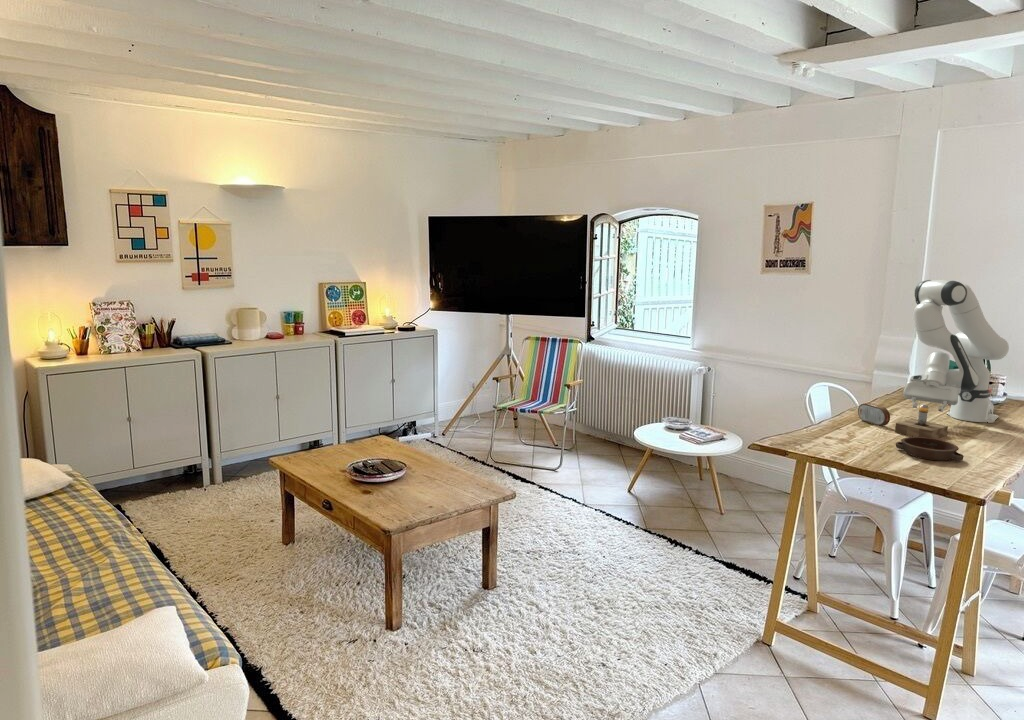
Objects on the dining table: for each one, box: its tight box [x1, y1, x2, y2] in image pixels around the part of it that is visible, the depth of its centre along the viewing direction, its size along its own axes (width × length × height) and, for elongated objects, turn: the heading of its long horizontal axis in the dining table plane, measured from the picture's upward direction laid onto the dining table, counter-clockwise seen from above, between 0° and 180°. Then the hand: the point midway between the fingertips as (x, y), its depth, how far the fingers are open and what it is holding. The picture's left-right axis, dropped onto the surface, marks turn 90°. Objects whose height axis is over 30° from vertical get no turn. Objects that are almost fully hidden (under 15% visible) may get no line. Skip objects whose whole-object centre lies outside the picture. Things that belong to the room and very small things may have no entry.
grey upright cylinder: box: [917, 404, 929, 427], centre depth 284 cm, size 3×3×12 cm
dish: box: [895, 436, 965, 462], centre depth 256 cm, size 18×22×5 cm
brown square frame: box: [894, 418, 949, 440], centre depth 285 cm, size 14×14×4 cm
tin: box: [857, 402, 891, 427], centre depth 301 cm, size 15×3×8 cm, turn 20°
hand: (927, 408), depth 293 cm, fingers open, 8 cm apart
